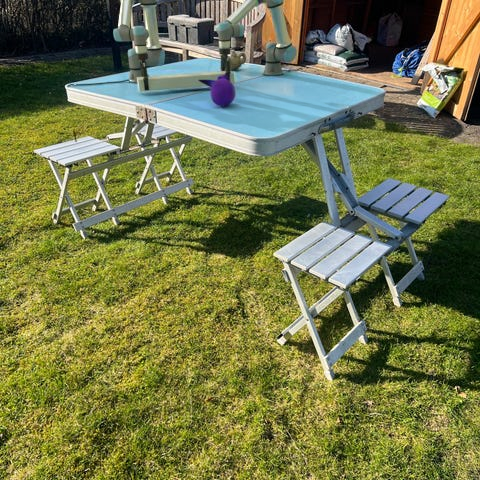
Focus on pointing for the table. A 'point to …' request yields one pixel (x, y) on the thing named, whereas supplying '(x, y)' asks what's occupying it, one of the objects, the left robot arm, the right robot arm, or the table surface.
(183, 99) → the table surface
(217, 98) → the toy
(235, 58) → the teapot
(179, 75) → the thick block
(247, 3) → the right robot arm
